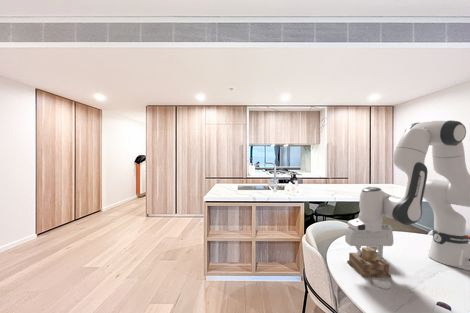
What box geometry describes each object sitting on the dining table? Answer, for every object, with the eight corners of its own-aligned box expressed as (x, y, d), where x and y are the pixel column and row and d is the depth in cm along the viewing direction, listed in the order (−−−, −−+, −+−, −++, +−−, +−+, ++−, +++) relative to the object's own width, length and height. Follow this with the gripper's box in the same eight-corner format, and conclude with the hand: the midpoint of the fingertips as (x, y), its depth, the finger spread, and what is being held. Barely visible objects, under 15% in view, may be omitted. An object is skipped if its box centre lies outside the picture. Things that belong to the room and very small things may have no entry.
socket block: (371, 262, 105) (372, 252, 105) (391, 277, 93) (391, 265, 93) (347, 262, 104) (347, 252, 104) (363, 277, 92) (363, 265, 92)
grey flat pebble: (382, 280, 91) (382, 277, 91) (394, 289, 85) (394, 286, 85) (368, 281, 90) (368, 277, 90) (379, 290, 84) (379, 286, 84)
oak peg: (369, 264, 101) (370, 247, 100) (375, 269, 97) (376, 251, 96) (361, 264, 100) (362, 247, 100) (366, 269, 96) (367, 251, 96)
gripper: (387, 221, 102) (385, 251, 102) (343, 221, 101) (342, 251, 101) (398, 226, 95) (396, 258, 96) (352, 226, 94) (350, 258, 95)
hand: (368, 254), depth 98 cm, fingers open, 6 cm apart
